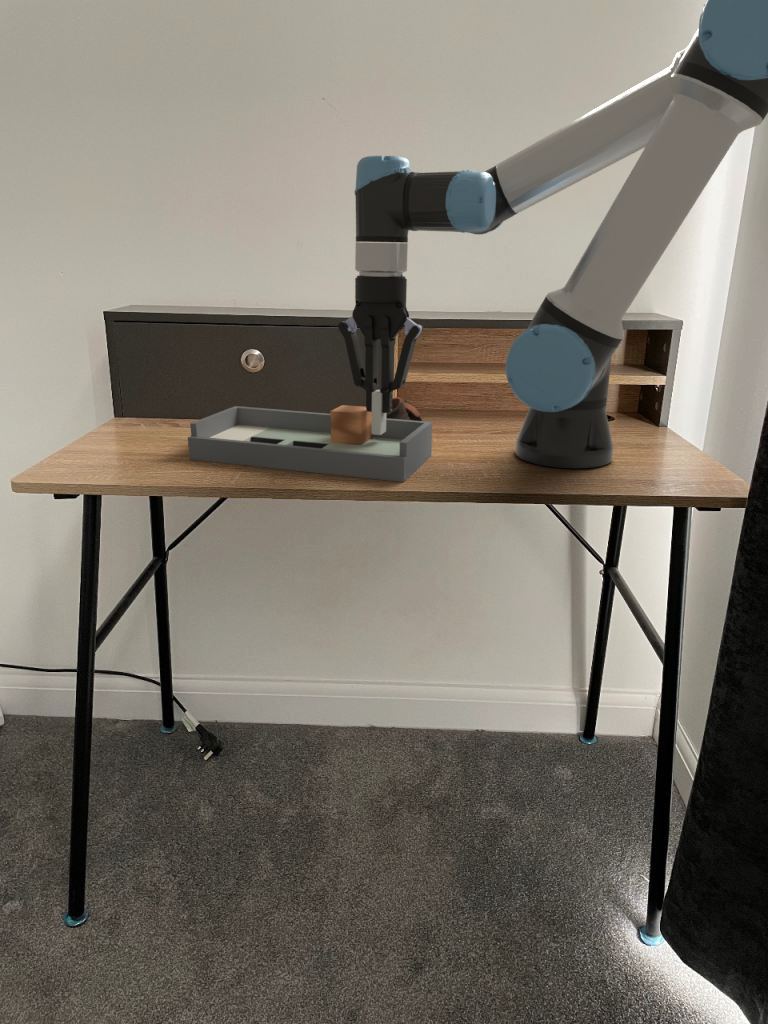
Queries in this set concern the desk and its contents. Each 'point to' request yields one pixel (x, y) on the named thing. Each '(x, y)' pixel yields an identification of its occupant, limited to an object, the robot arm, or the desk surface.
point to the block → (351, 425)
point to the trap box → (308, 444)
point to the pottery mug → (403, 410)
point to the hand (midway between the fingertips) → (378, 432)
